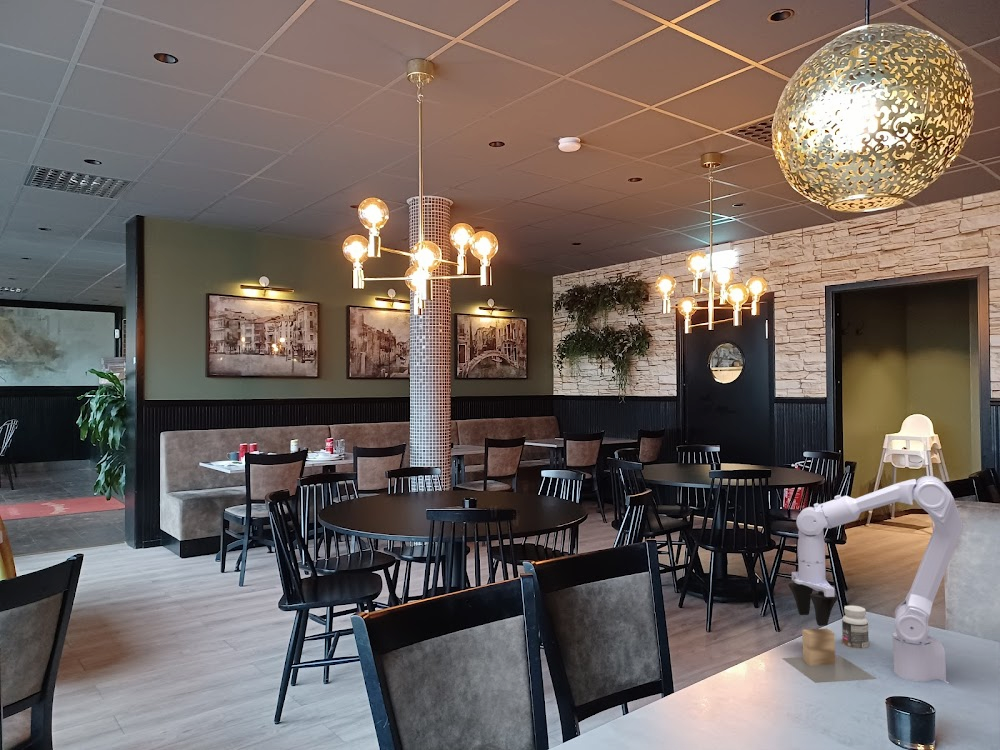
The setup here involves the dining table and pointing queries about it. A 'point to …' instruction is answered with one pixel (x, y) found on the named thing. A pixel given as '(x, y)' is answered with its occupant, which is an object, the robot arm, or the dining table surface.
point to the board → (830, 670)
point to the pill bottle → (855, 627)
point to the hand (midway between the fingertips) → (812, 619)
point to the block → (818, 646)
